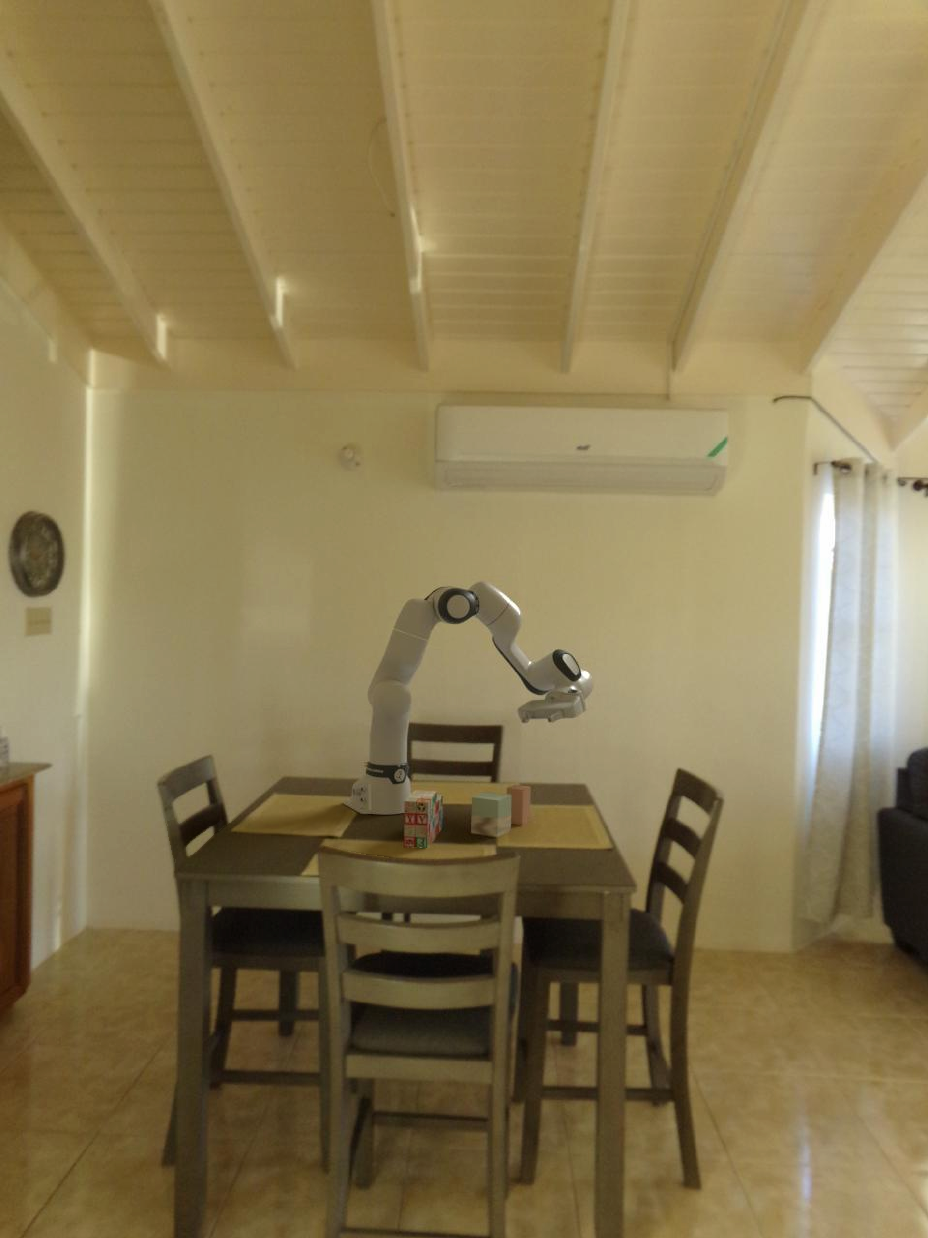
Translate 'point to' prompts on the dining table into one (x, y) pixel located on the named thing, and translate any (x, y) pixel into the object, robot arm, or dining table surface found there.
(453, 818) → the dining table surface
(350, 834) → the dining table surface
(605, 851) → the dining table surface
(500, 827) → the tower bottom
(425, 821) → the stack of blocks
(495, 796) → the tower top
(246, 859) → the dining table surface
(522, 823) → the tall block
